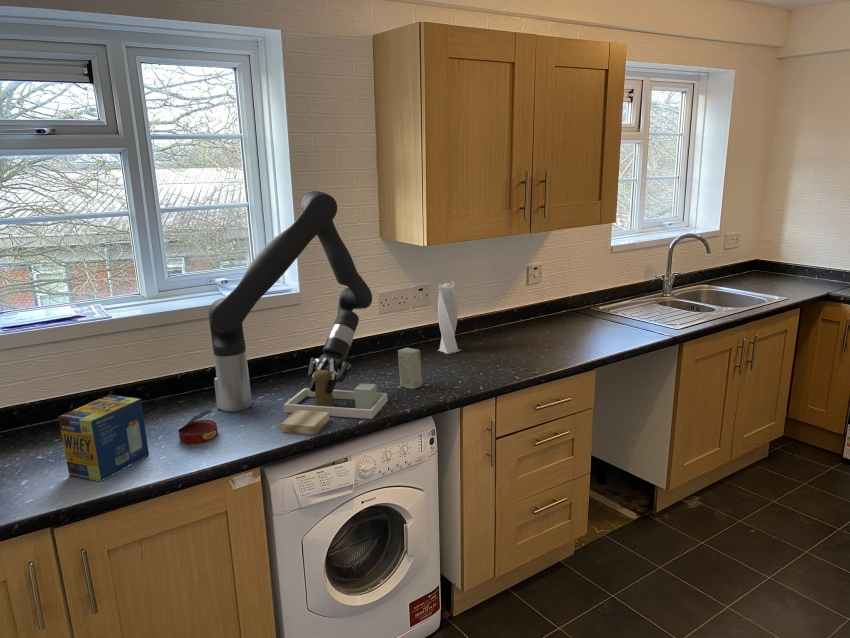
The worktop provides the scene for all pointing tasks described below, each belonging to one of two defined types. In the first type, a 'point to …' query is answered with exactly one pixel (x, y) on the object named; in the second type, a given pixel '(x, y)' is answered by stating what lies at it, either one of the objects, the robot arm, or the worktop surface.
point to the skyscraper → (447, 318)
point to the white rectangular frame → (335, 411)
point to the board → (305, 422)
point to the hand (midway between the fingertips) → (319, 391)
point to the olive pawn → (322, 389)
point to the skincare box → (410, 368)
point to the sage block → (365, 396)
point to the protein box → (103, 436)
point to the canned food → (198, 430)
